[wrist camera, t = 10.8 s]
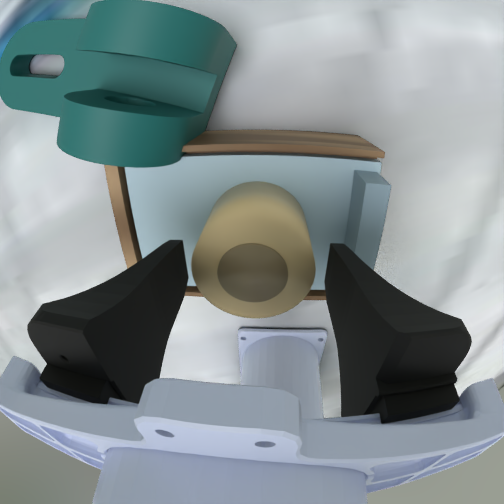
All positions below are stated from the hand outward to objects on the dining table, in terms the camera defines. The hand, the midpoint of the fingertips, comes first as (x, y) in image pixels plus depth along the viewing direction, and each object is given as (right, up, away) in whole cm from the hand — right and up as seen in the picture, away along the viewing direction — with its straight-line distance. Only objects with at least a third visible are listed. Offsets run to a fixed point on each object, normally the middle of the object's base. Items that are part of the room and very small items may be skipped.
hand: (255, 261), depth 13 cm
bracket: (-11, +13, +2) cm, 17 cm away
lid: (0, +2, +3) cm, 4 cm away
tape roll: (0, +2, +2) cm, 3 cm away
